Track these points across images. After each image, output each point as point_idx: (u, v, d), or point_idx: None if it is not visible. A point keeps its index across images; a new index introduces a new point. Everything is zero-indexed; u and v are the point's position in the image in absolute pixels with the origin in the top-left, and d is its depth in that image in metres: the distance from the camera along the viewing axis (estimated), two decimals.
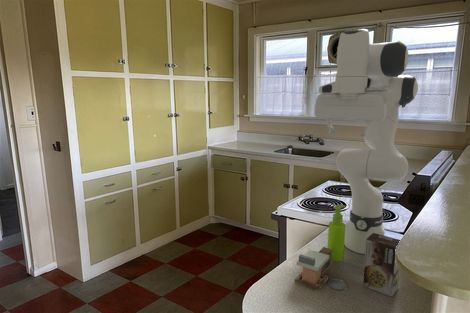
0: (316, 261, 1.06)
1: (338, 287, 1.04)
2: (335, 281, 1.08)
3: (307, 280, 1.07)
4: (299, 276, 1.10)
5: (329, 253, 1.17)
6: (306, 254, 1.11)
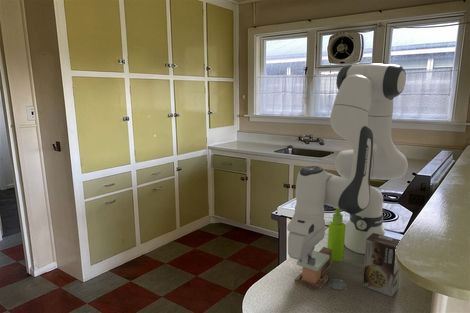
0: (316, 261, 1.06)
1: (338, 287, 1.04)
2: (335, 281, 1.08)
3: (307, 280, 1.07)
4: (299, 276, 1.10)
5: (329, 253, 1.17)
6: None
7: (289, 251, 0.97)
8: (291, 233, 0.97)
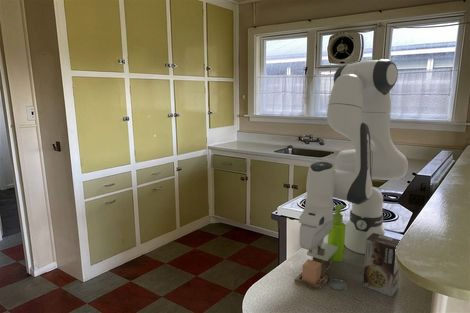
0: (325, 252, 1.13)
1: (338, 287, 1.04)
2: (335, 281, 1.08)
3: (307, 280, 1.07)
4: (299, 276, 1.10)
5: None
6: None
7: (301, 242, 1.03)
8: (302, 225, 1.04)
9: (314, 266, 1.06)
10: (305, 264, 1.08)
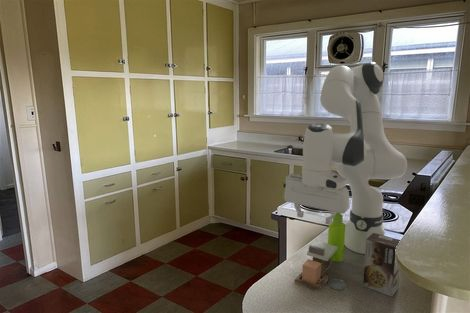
0: (325, 252, 1.13)
1: (338, 287, 1.04)
2: (335, 281, 1.08)
3: (307, 280, 1.07)
4: (299, 276, 1.10)
5: None
6: (315, 245, 1.17)
7: (346, 206, 0.97)
8: (341, 190, 0.97)
9: (314, 266, 1.06)
10: (305, 264, 1.08)
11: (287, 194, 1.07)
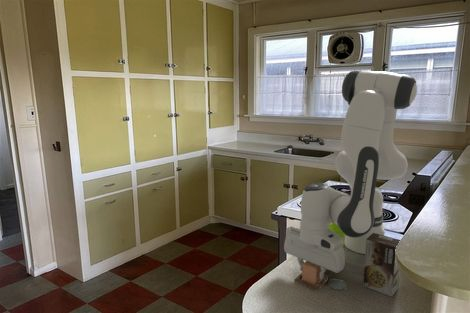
0: None
1: (338, 287, 1.04)
2: (335, 281, 1.08)
3: (307, 280, 1.07)
4: (299, 276, 1.10)
5: None
6: None
7: (340, 266, 1.00)
8: (335, 250, 0.99)
9: (314, 266, 1.06)
10: (305, 264, 1.08)
11: (287, 246, 1.12)
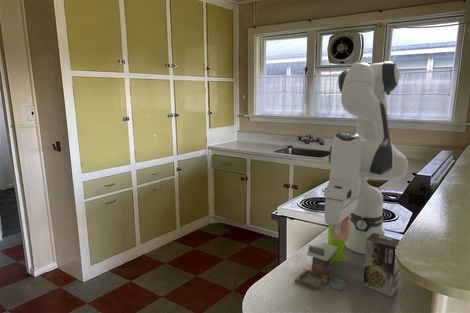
0: (325, 252, 1.13)
1: (338, 287, 1.04)
2: (335, 281, 1.08)
3: None
4: (299, 276, 1.10)
5: None
6: (315, 245, 1.17)
7: (326, 217, 0.95)
8: (328, 199, 0.95)
9: None
10: None
11: None
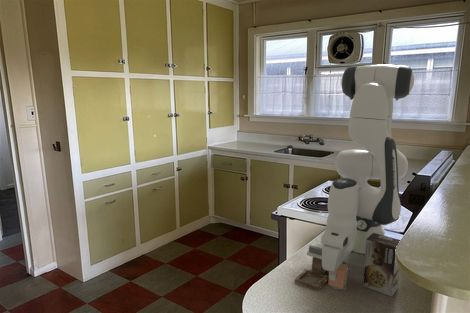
0: None
1: None
2: None
3: None
4: (299, 276, 1.10)
5: None
6: (315, 245, 1.17)
7: (323, 264, 0.97)
8: (325, 246, 0.98)
9: None
10: None
11: None
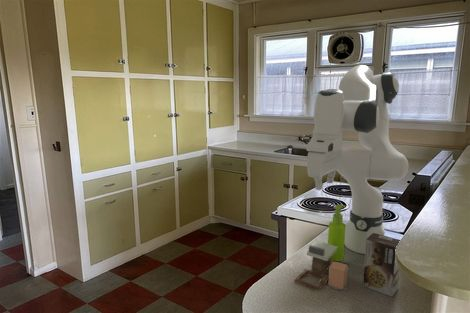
0: (325, 252, 1.13)
1: None
2: None
3: None
4: (299, 276, 1.10)
5: None
6: (315, 245, 1.17)
7: (308, 170, 0.98)
8: (310, 152, 0.98)
9: (334, 266, 1.05)
10: (334, 262, 1.08)
11: None
